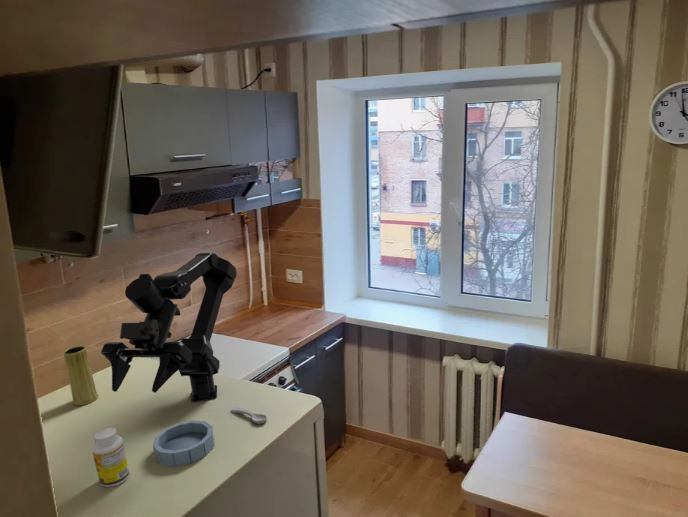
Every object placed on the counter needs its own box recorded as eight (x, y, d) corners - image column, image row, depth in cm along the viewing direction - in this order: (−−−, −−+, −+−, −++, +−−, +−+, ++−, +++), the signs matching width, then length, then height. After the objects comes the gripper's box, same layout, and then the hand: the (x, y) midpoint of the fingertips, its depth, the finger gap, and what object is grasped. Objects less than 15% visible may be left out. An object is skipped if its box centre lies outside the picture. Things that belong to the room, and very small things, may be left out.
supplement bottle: (102, 474, 104) (91, 429, 102) (131, 467, 106) (121, 422, 104) (98, 491, 99) (86, 444, 97) (129, 483, 101) (118, 436, 98)
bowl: (159, 439, 115) (157, 427, 115) (215, 428, 118) (212, 416, 117) (152, 471, 104) (149, 458, 103) (213, 458, 106) (211, 445, 106)
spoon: (260, 427, 116) (259, 419, 116) (228, 416, 124) (227, 408, 124) (270, 421, 119) (269, 413, 118) (238, 411, 127) (237, 403, 126)
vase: (103, 394, 140) (92, 344, 137) (88, 406, 134) (77, 354, 131) (83, 394, 141) (71, 345, 138) (67, 406, 136) (55, 355, 132)
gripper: (99, 306, 111) (70, 374, 102) (178, 304, 107) (154, 375, 98) (127, 330, 120) (102, 396, 111) (201, 330, 116) (181, 398, 107)
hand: (133, 391), depth 106 cm, fingers open, 9 cm apart
